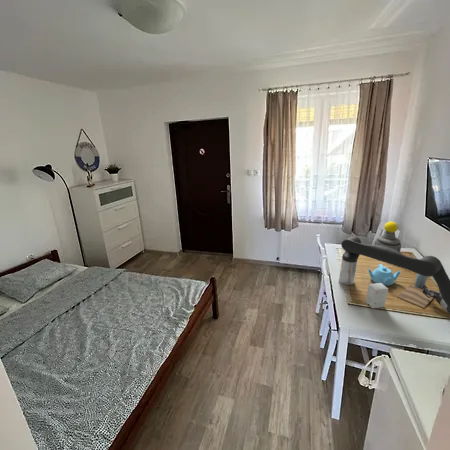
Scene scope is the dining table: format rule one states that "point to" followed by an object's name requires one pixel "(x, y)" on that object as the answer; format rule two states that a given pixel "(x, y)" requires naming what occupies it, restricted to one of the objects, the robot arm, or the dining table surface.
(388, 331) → the dining table surface
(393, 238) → the toy tesla coil
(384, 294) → the small box
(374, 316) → the dining table surface
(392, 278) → the teapot
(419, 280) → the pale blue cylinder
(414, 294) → the placemat
